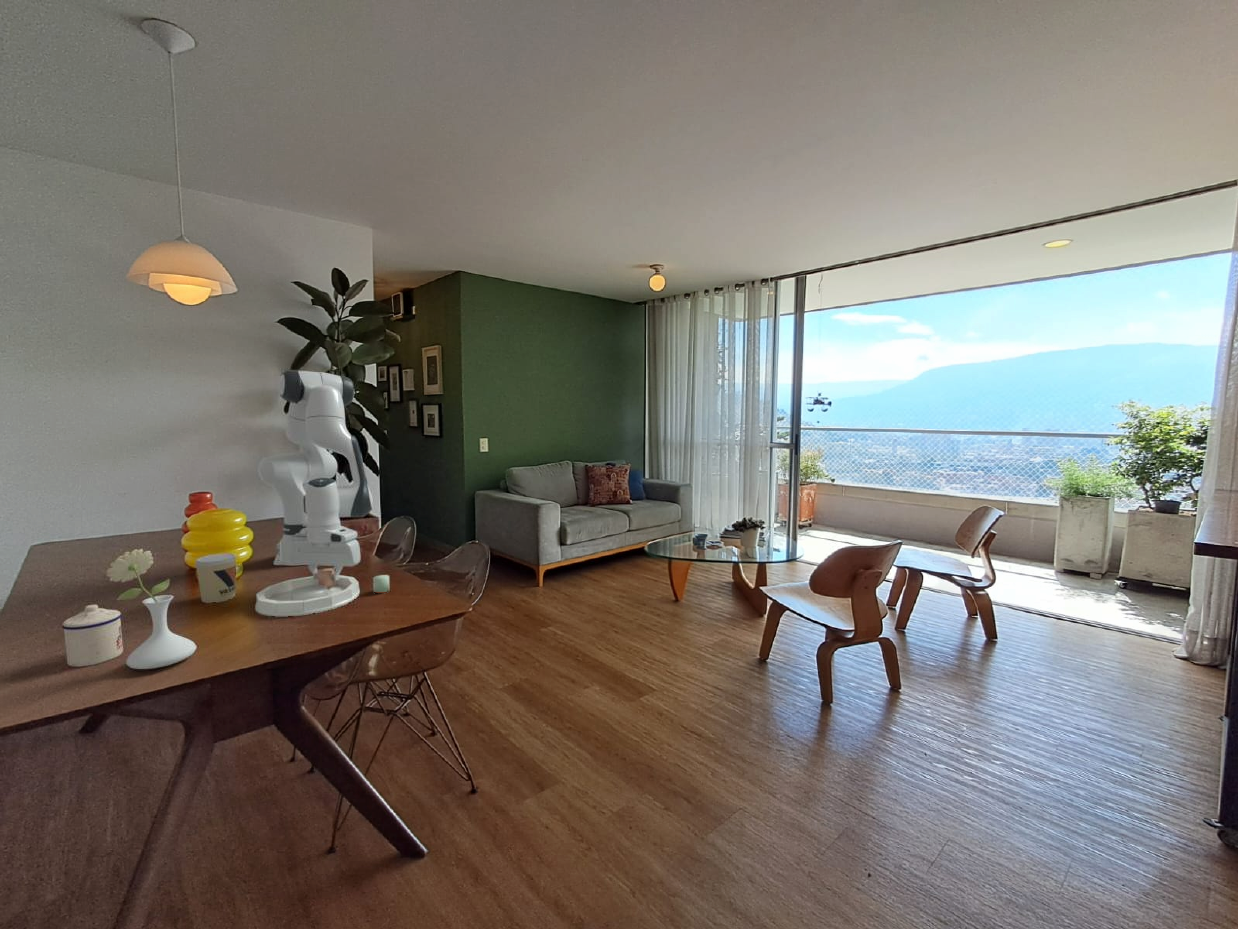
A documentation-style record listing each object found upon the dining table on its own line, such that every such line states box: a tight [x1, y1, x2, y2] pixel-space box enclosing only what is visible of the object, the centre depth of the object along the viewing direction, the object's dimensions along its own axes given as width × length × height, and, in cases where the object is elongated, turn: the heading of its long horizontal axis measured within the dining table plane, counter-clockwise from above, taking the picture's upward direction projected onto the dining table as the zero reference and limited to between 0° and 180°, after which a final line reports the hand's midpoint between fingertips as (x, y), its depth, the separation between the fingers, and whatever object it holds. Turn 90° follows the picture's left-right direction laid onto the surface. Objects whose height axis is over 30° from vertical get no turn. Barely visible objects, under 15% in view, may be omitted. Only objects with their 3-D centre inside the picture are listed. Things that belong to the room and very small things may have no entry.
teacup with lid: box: [61, 604, 124, 668], centre depth 115 cm, size 12×9×12 cm
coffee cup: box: [194, 553, 237, 604], centre depth 152 cm, size 9×9×12 cm
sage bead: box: [372, 574, 391, 593], centre depth 159 cm, size 4×4×4 cm
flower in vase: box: [106, 548, 197, 670], centre depth 112 cm, size 13×11×25 cm
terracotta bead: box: [317, 567, 335, 587], centre depth 158 cm, size 4×4×4 cm
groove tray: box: [254, 574, 361, 618], centre depth 151 cm, size 26×26×4 cm
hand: (326, 579), depth 159 cm, fingers closed on terracotta bead, 4 cm apart
